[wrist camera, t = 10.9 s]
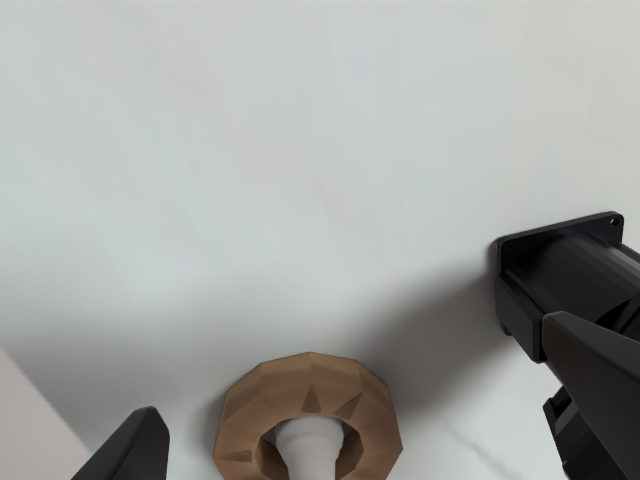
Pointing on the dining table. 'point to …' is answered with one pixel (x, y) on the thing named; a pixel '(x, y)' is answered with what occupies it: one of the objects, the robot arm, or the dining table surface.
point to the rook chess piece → (310, 446)
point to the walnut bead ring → (302, 399)
